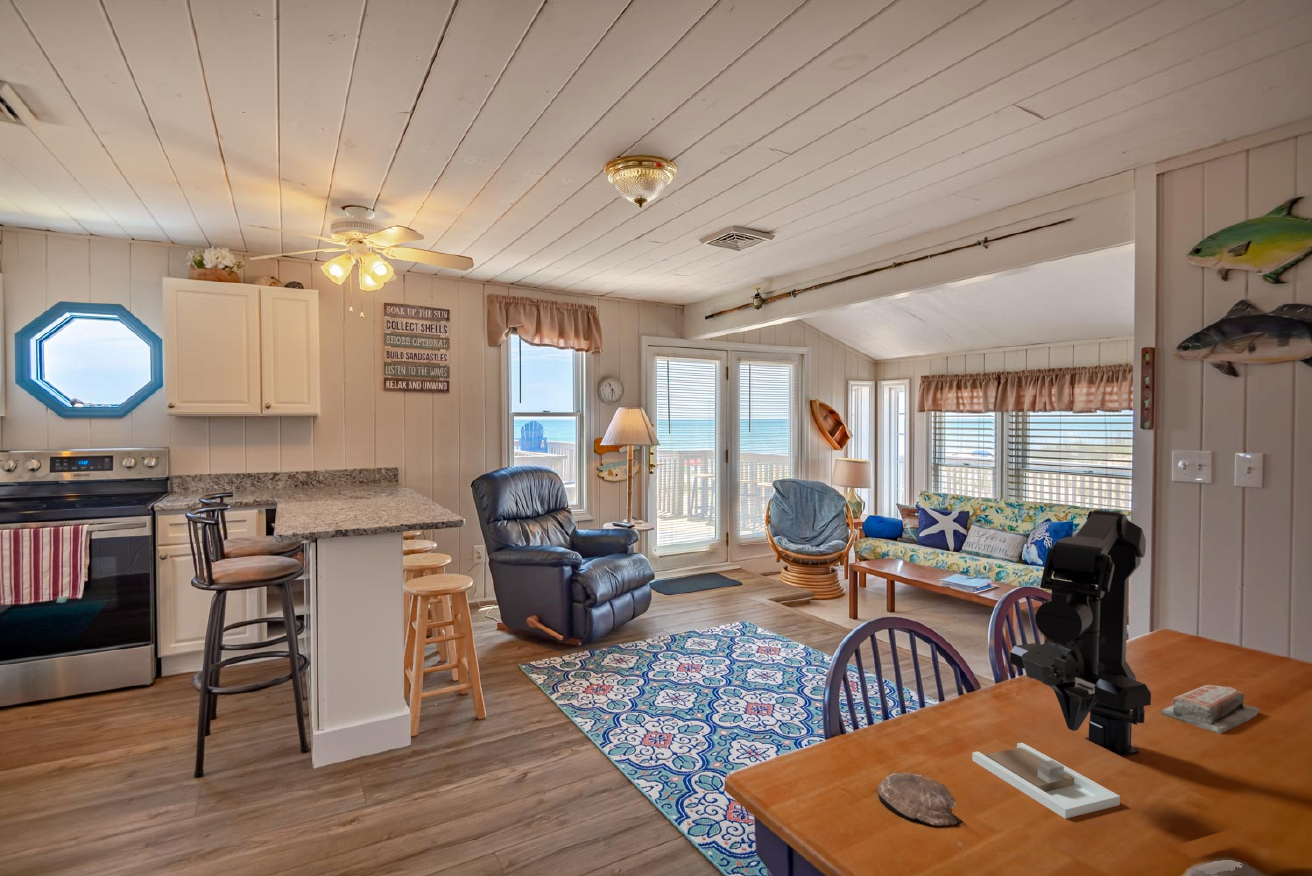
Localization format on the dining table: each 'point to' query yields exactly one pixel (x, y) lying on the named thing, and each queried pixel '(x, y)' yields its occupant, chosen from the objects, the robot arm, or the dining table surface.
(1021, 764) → the cover plate
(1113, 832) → the dining table surface
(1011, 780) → the open box
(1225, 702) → the packaged product
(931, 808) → the shell
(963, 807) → the dining table surface
